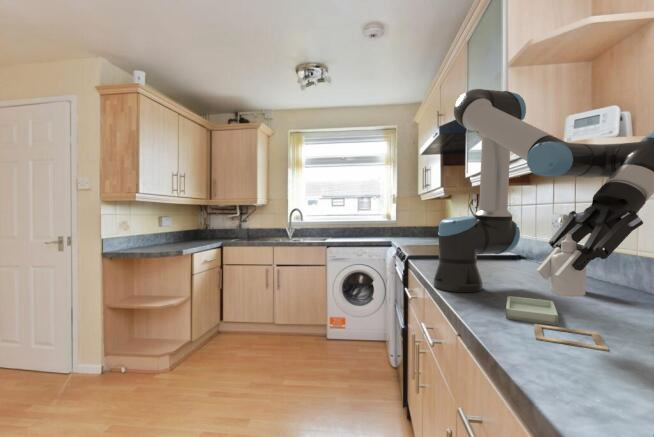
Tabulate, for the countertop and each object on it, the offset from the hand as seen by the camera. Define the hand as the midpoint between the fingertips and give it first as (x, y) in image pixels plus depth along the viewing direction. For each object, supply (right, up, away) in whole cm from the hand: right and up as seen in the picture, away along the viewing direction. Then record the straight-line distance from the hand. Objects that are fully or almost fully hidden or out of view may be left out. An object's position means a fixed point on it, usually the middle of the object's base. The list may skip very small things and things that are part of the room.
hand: (551, 277), depth 63 cm
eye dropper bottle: (+4, -4, +1) cm, 5 cm away
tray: (+5, -12, +15) cm, 20 cm away
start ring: (+4, -12, +1) cm, 13 cm away
